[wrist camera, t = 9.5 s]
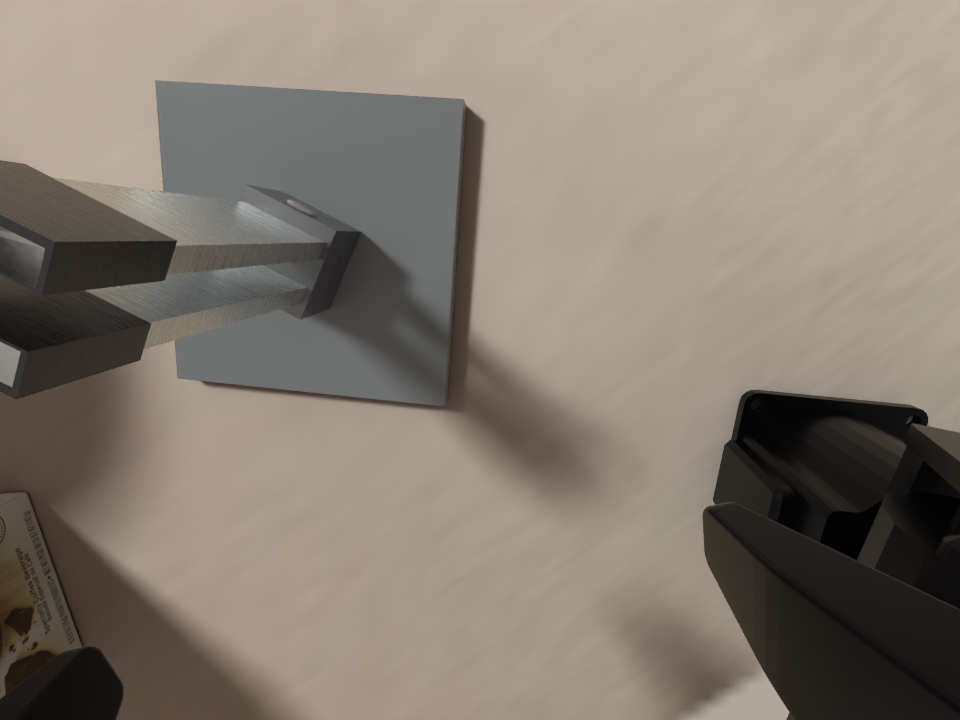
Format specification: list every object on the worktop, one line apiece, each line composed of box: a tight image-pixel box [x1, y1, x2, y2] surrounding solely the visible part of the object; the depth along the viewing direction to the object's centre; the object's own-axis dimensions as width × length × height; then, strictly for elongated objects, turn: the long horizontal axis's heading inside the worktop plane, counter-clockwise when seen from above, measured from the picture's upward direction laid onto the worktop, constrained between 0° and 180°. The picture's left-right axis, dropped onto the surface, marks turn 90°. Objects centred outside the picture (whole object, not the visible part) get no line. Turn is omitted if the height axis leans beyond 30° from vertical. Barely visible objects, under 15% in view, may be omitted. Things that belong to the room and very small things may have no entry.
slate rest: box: [155, 80, 466, 406], centre depth 19 cm, size 11×11×1 cm
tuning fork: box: [0, 160, 361, 399], centre depth 13 cm, size 3×3×12 cm
